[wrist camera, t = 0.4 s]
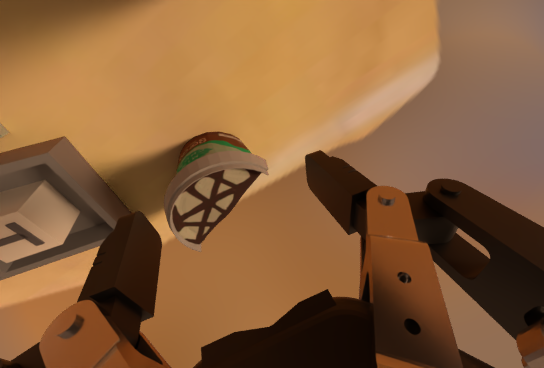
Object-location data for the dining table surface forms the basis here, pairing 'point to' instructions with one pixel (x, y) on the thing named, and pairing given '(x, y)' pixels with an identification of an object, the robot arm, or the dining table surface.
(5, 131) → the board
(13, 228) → the letter cube
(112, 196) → the organiser tray
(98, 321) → the robot arm
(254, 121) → the dining table surface
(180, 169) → the food container
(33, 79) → the dining table surface
